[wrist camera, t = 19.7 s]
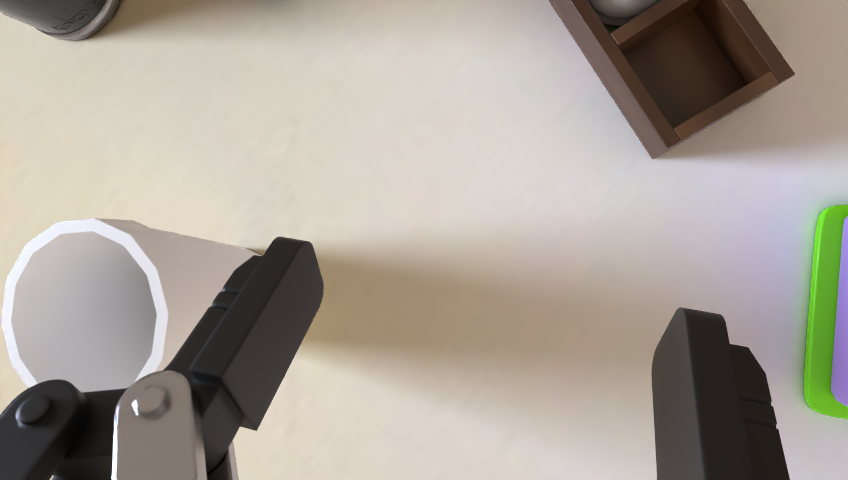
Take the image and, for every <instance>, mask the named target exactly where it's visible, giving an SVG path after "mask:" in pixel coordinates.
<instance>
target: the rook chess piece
mask: <svg viewBox="0 0 848 480" xmlns="http://www.w3.org/2000/svg"><path fill="white" fill-rule="evenodd" d="M657 1H658V0H588V2H589V3H590V5H591V6H592V8H593V9H594V11H595V12H596V14H597V15H598V17H599V18H600V20H601V21H602V22H604V23H605V24H611V25H620V26H622V25H625V24H626V23H628V22H629V21H631V20H632V19H634V18H636V17H637V16H639V15H640V14H642V13H643V12H645V11H646V10H648V9H650V8H651V7H653V6H654V5H655V4H656V3H657Z"/></svg>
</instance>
